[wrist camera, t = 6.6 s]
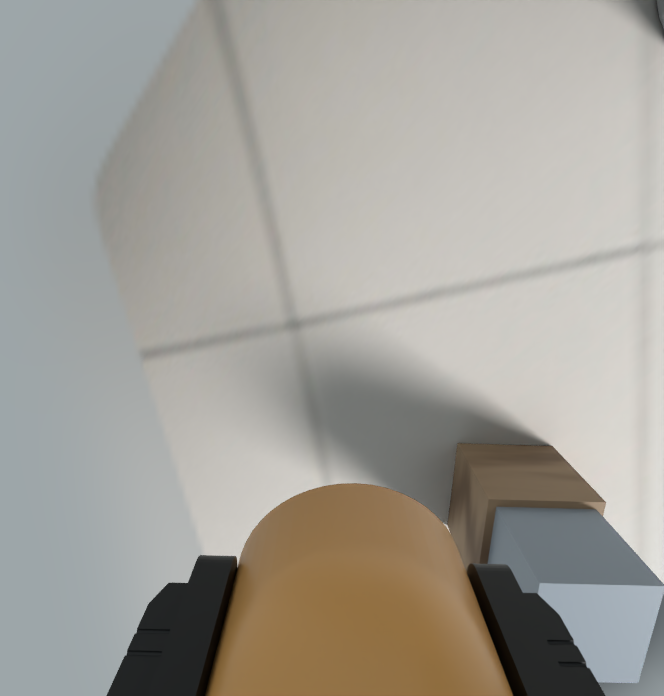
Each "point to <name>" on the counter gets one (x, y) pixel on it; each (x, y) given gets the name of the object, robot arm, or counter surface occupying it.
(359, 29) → the counter surface
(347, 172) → the counter surface
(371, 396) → the counter surface
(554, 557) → the grey top cube
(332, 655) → the orange rounded cylinder
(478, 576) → the robot arm
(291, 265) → the counter surface
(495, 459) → the walnut base cube
